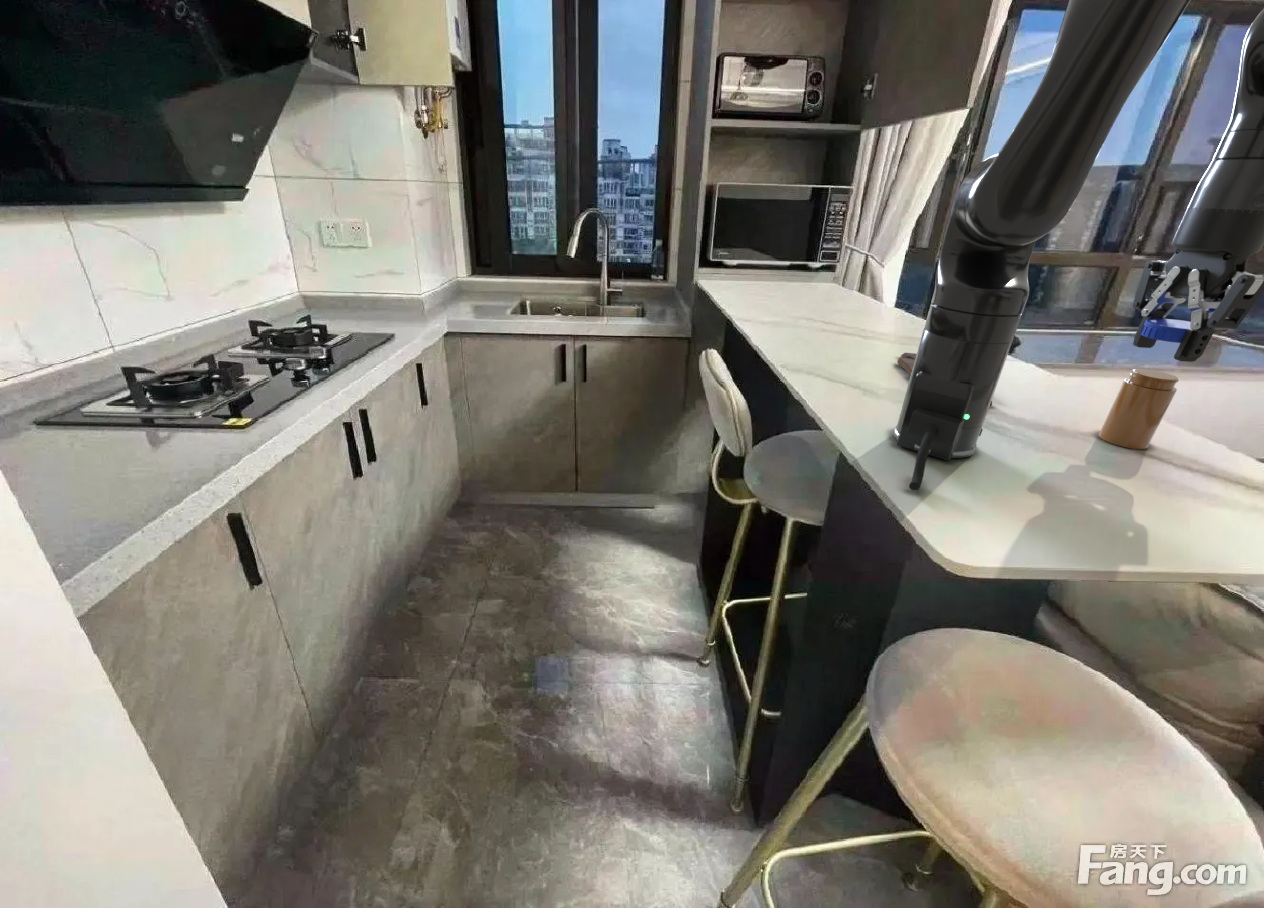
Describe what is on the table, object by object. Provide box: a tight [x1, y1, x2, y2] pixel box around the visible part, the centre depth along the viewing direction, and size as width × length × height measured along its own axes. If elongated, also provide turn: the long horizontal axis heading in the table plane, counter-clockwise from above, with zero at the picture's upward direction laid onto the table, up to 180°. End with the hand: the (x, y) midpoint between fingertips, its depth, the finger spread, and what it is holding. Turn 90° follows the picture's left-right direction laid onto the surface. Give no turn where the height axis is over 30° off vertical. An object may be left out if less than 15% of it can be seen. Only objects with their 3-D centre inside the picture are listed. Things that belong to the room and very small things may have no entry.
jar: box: [1098, 368, 1179, 450], centre depth 71 cm, size 5×5×9 cm
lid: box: [1140, 318, 1191, 344], centre depth 67 cm, size 6×6×2 cm
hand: (1162, 353), depth 68 cm, fingers closed on lid, 5 cm apart
